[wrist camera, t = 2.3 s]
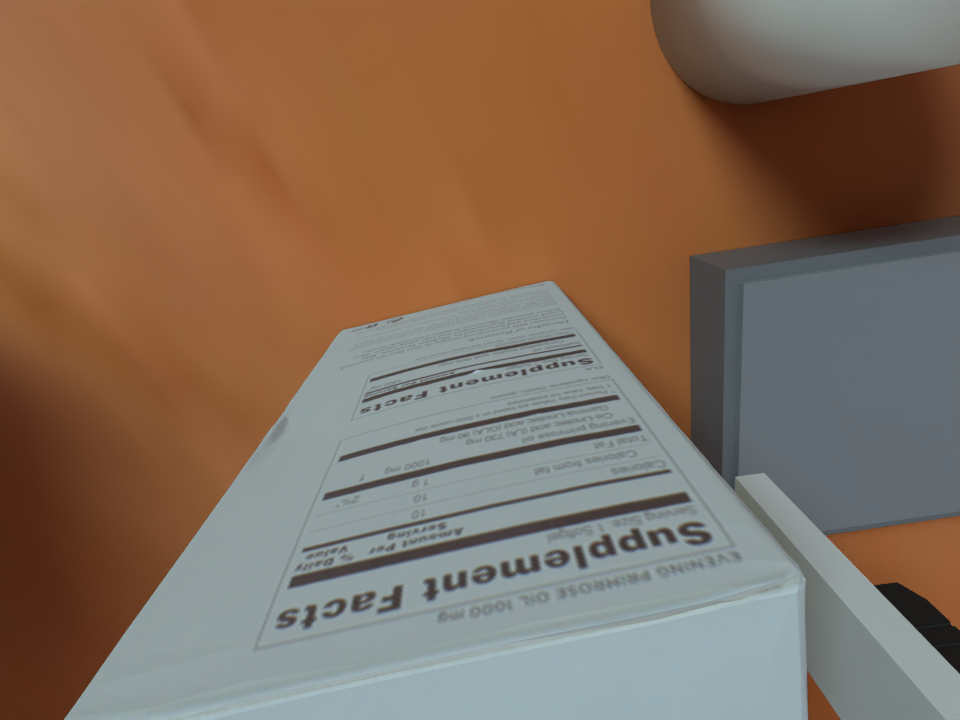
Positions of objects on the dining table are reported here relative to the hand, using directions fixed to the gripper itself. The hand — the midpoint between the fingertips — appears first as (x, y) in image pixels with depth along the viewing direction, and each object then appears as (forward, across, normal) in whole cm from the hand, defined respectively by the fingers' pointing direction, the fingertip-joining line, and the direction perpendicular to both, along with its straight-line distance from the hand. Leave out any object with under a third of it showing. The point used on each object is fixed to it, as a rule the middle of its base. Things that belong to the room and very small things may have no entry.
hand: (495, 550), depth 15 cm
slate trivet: (+10, +16, -1) cm, 18 cm away
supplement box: (+10, 0, 0) cm, 10 cm away
